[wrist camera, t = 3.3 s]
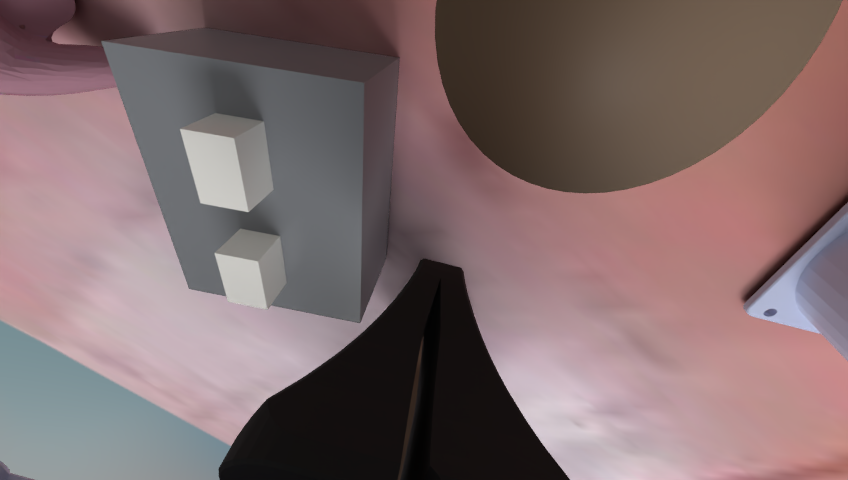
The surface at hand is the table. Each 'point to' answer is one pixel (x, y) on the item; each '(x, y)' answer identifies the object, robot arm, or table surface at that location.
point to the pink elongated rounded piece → (46, 52)
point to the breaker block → (266, 162)
